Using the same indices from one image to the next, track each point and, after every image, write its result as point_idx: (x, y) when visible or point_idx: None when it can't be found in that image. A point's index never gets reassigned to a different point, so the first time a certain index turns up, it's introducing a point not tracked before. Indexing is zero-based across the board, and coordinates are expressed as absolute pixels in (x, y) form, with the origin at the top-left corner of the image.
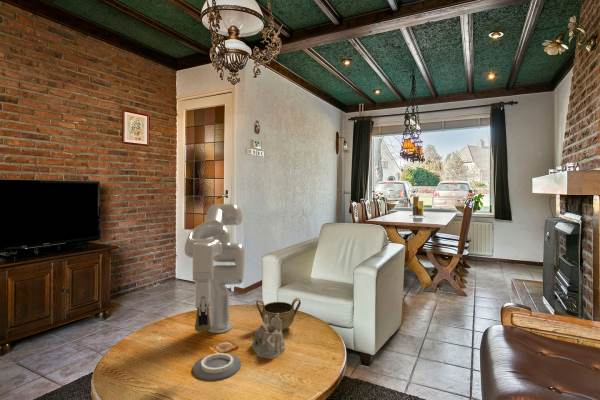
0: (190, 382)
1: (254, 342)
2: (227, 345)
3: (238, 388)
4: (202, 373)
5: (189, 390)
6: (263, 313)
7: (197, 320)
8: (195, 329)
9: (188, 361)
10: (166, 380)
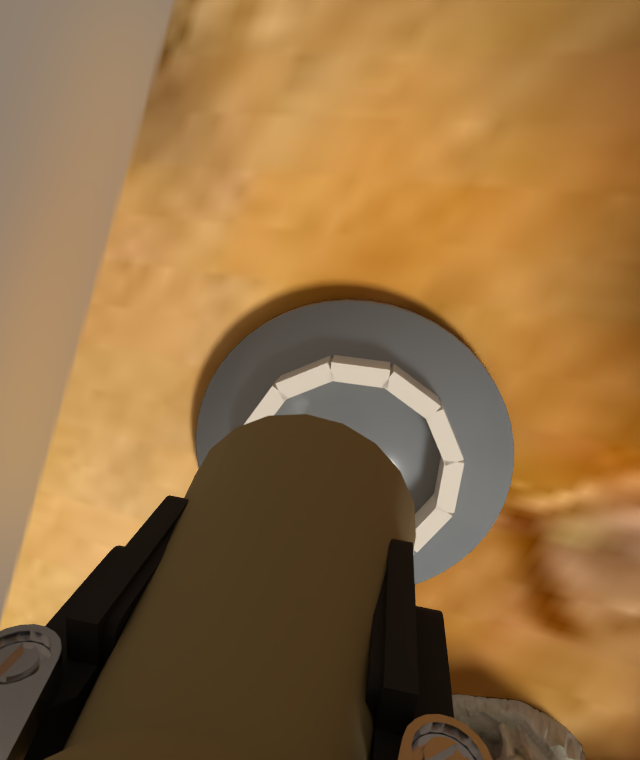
0: (233, 264)
1: (506, 738)
2: (627, 582)
3: (89, 497)
4: (274, 351)
5: (147, 248)
6: None
7: (195, 524)
8: (259, 423)
9: (527, 285)
10: (319, 103)
